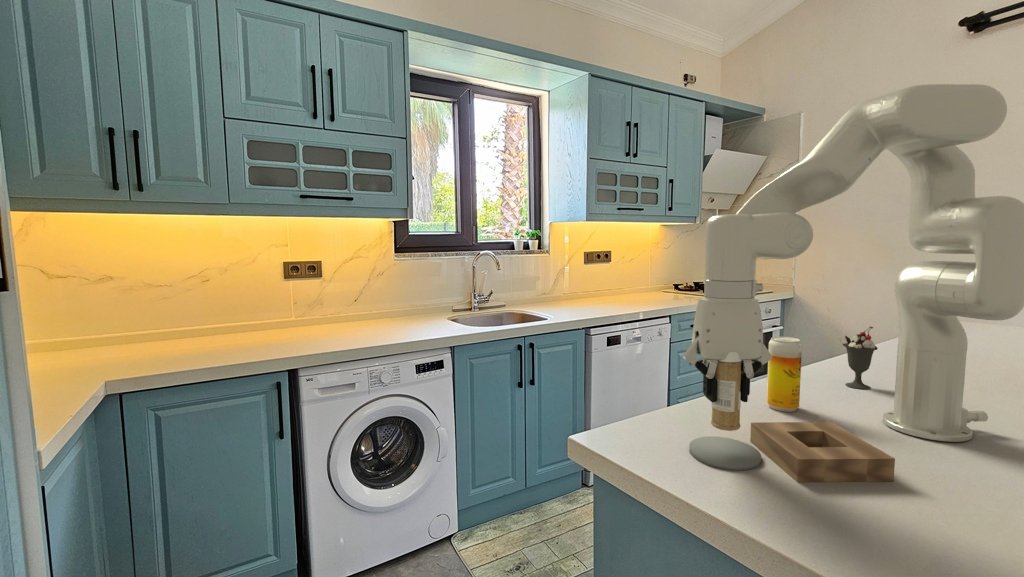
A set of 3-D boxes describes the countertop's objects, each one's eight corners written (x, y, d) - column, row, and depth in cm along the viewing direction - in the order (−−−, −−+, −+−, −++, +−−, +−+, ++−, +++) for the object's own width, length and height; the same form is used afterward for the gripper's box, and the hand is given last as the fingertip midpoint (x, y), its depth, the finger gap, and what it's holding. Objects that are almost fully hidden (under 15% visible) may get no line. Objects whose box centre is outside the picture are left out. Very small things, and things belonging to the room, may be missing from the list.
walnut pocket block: (830, 440, 83) (831, 421, 83) (893, 481, 69) (895, 458, 69) (750, 441, 84) (750, 422, 83) (797, 481, 69) (798, 459, 69)
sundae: (882, 390, 110) (886, 328, 109) (853, 390, 110) (857, 328, 109) (861, 382, 117) (865, 323, 115) (834, 382, 117) (838, 323, 115)
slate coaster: (741, 440, 84) (741, 436, 84) (774, 470, 73) (774, 465, 73) (680, 440, 84) (680, 436, 84) (703, 470, 73) (704, 465, 73)
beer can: (798, 414, 96) (802, 343, 94) (765, 409, 99) (768, 340, 98) (799, 405, 101) (802, 337, 100) (767, 401, 104) (769, 335, 103)
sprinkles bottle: (745, 427, 77) (748, 348, 76) (729, 434, 75) (732, 352, 74) (720, 419, 81) (722, 343, 80) (704, 425, 79) (706, 347, 77)
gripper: (769, 287, 80) (764, 392, 81) (669, 289, 80) (668, 392, 82) (794, 292, 72) (789, 407, 74) (685, 294, 72) (682, 408, 74)
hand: (725, 398), depth 78 cm, fingers closed on sprinkles bottle, 4 cm apart
